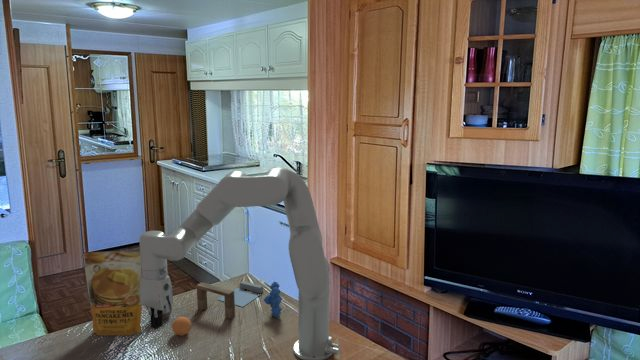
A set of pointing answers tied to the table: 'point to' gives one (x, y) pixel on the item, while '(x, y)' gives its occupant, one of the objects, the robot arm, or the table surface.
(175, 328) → the ball
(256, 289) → the stopper wall
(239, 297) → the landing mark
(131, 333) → the pancake mix bag
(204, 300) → the bridge
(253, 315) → the table surface
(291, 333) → the table surface
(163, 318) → the vase
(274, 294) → the blue lumpy cluster
